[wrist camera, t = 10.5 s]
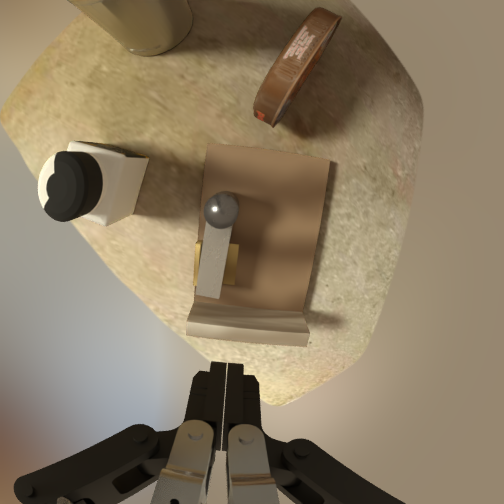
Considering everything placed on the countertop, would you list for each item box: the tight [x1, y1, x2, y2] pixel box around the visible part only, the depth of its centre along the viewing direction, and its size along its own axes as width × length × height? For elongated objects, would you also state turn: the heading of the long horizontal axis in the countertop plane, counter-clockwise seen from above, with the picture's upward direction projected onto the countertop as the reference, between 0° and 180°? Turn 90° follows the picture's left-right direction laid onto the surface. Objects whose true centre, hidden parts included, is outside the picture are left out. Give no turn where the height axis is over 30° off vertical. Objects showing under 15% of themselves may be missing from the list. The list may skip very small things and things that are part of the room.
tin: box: [253, 7, 342, 128], centre depth 22 cm, size 15×3×8 cm, turn 151°
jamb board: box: [186, 143, 330, 347], centre depth 29 cm, size 20×13×6 cm, turn 173°
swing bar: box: [195, 191, 240, 299], centre depth 28 cm, size 11×3×4 cm, turn 169°
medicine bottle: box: [38, 141, 149, 226], centre depth 24 cm, size 7×7×12 cm
